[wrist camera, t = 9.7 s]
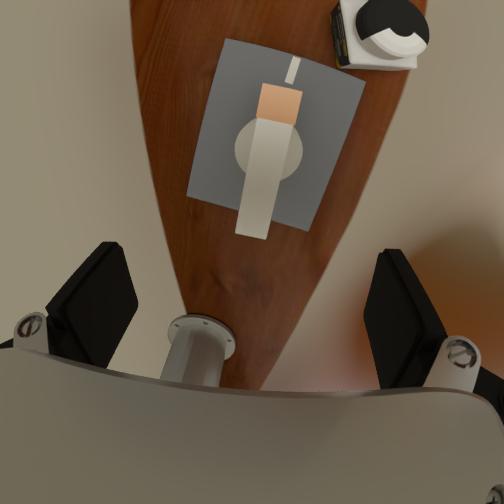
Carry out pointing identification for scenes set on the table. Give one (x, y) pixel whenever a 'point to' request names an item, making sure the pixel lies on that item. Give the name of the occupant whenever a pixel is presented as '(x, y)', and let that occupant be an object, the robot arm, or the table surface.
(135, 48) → the table surface
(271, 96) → the grey and orange blocks
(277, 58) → the coupling base
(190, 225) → the table surface
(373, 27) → the medicine bottle
